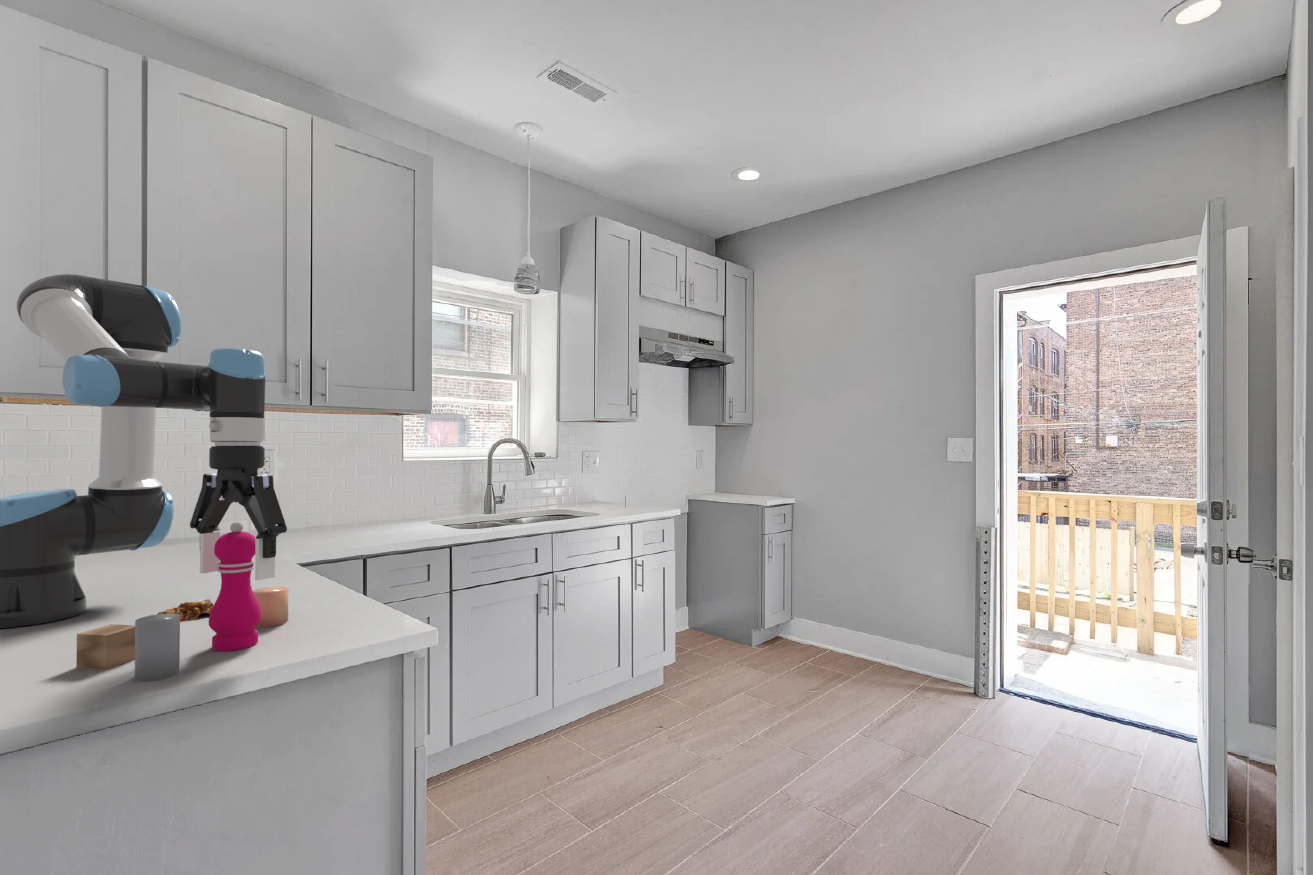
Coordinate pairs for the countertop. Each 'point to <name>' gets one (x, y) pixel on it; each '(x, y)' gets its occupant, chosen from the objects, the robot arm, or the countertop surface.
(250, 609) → the pepper mill
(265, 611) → the peach rounded cylinder
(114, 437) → the robot arm
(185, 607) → the brown lumpy mound
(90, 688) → the countertop surface
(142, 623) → the grey cylinder
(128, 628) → the tan block
